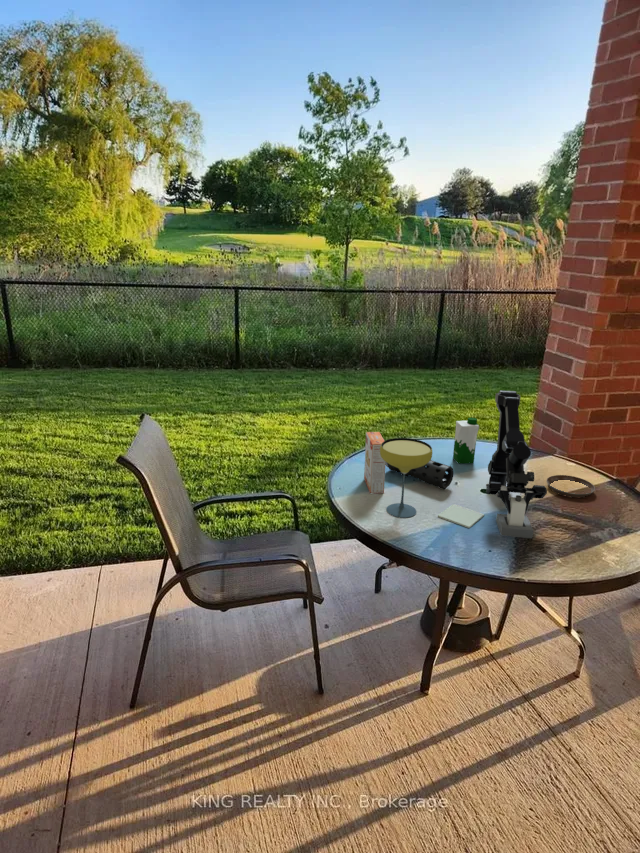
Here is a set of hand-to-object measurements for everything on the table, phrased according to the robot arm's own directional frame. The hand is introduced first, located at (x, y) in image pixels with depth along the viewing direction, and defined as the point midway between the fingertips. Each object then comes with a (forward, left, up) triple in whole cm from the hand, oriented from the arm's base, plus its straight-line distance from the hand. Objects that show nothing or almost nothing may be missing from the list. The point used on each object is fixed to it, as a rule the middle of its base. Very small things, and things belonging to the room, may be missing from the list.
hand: (517, 514), depth 175 cm
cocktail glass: (+26, -29, -7) cm, 39 cm away
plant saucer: (-46, -15, -7) cm, 49 cm away
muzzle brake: (+4, -49, -7) cm, 49 cm away
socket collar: (-1, -1, -7) cm, 7 cm away
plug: (-1, -1, -7) cm, 7 cm away
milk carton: (-28, -57, -7) cm, 64 cm away
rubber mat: (+9, -16, -7) cm, 20 cm away
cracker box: (+24, -51, -7) cm, 57 cm away
